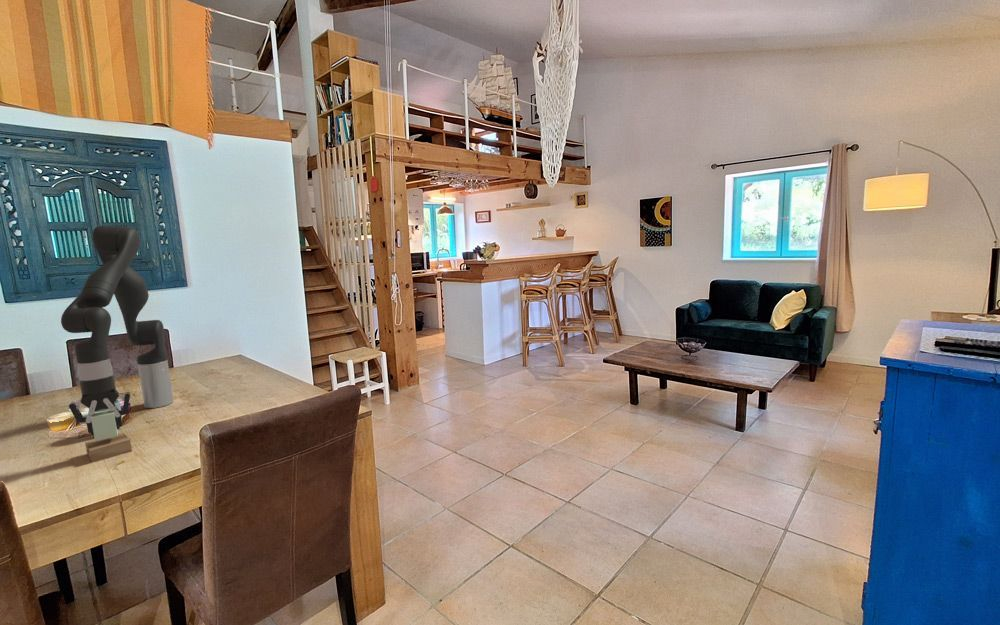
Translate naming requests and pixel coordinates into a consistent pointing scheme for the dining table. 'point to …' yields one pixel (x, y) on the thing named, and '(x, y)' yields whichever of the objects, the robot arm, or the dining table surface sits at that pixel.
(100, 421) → the green block
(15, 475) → the dining table surface
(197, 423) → the dining table surface
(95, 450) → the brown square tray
